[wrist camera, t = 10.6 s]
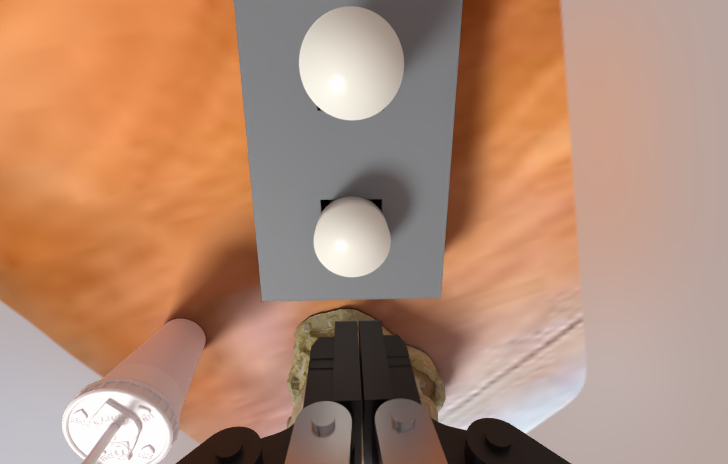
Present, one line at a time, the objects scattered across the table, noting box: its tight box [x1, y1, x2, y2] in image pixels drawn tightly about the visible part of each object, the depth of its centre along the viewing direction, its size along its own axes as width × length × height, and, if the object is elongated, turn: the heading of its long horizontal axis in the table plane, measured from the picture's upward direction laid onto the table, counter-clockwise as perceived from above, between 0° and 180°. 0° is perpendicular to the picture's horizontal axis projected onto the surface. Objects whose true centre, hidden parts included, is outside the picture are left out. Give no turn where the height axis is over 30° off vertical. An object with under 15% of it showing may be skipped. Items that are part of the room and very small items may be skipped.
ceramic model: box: [286, 309, 445, 464], centre depth 29 cm, size 14×11×10 cm
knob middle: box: [299, 6, 404, 120], centre depth 19 cm, size 4×4×7 cm
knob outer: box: [314, 196, 391, 277], centre depth 25 cm, size 4×4×7 cm
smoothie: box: [62, 319, 206, 464], centre depth 25 cm, size 6×6×14 cm
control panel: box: [234, 0, 463, 302], centre depth 24 cm, size 28×12×5 cm, turn 0°
